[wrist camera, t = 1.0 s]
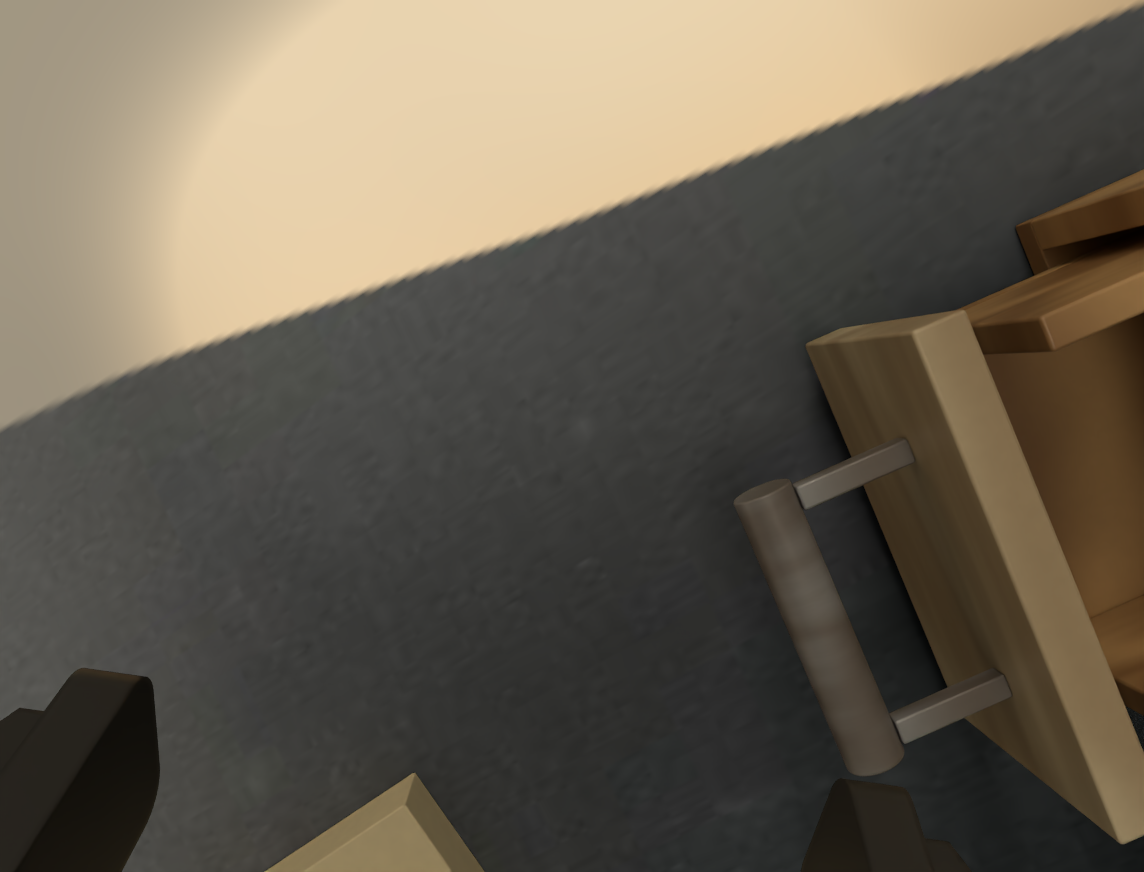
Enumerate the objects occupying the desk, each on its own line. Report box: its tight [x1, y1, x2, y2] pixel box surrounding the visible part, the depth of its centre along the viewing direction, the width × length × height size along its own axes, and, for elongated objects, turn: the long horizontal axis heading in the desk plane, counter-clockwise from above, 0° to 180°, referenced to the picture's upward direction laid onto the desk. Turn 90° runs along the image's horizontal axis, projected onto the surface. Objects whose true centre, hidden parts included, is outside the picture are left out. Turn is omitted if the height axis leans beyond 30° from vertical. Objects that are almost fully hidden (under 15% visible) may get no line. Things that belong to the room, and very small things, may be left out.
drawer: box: [734, 228, 1144, 844], centre depth 24 cm, size 18×12×8 cm, turn 114°
